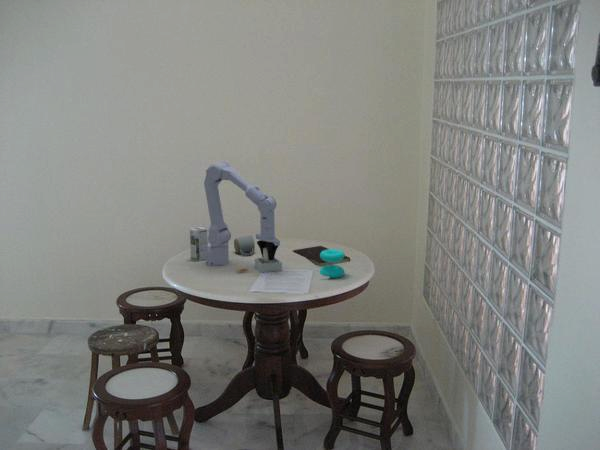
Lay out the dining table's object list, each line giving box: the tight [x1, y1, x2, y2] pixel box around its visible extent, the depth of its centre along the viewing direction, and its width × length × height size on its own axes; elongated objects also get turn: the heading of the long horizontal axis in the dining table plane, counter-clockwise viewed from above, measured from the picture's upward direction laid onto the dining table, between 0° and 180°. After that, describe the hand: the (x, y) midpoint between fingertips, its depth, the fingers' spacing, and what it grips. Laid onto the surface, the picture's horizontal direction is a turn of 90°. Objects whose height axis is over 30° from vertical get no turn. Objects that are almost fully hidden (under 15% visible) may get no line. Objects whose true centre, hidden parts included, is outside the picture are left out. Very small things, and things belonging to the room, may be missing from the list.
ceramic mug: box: [233, 235, 256, 257], centre depth 301 cm, size 11×8×8 cm
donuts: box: [319, 248, 346, 279], centre depth 269 cm, size 10×10×10 cm
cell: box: [262, 247, 273, 263], centre depth 274 cm, size 4×4×7 cm
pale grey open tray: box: [254, 256, 283, 273], centre depth 275 cm, size 9×9×4 cm
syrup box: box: [189, 226, 209, 263], centre depth 290 cm, size 6×6×14 cm
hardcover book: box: [291, 245, 351, 267], centre depth 295 cm, size 16×23×2 cm
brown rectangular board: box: [234, 268, 251, 275], centre depth 274 cm, size 20×13×1 cm, turn 109°
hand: (268, 258), depth 274 cm, fingers closed on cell, 4 cm apart
